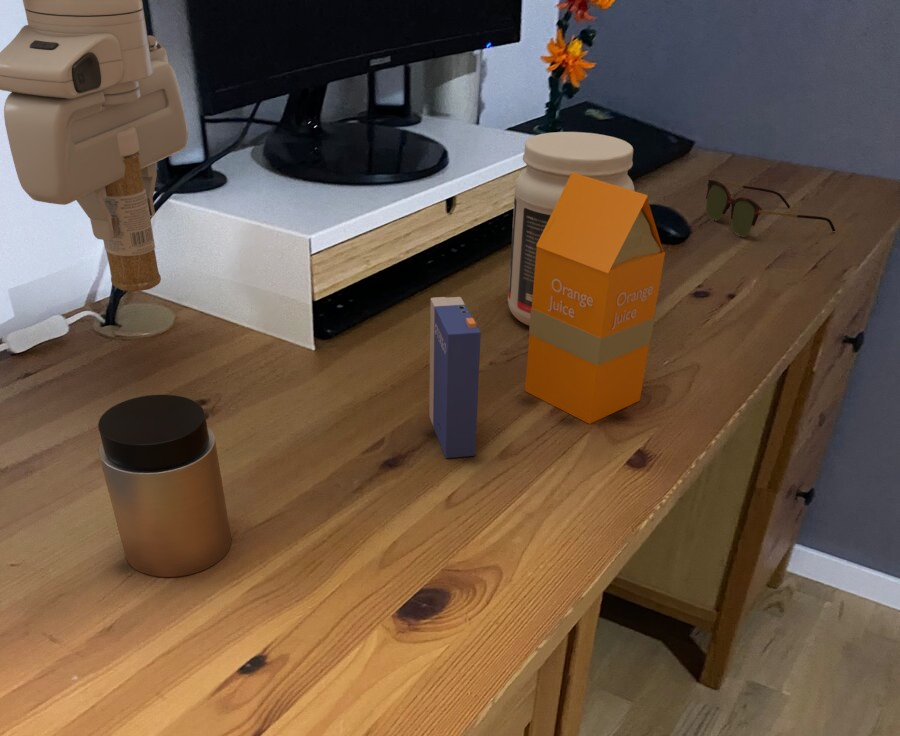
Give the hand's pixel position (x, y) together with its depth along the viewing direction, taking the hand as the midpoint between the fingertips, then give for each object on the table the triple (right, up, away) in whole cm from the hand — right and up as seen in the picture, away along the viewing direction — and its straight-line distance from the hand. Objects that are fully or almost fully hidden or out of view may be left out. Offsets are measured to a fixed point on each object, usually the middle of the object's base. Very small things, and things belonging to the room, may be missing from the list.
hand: (125, 227), depth 82 cm
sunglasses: (+76, +22, +52) cm, 95 cm away
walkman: (+29, -19, +2) cm, 35 cm away
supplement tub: (+42, -1, +24) cm, 49 cm away
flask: (+8, -29, -12) cm, 33 cm away
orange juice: (+42, -13, +9) cm, 45 cm away
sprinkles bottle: (0, -4, +3) cm, 5 cm away
